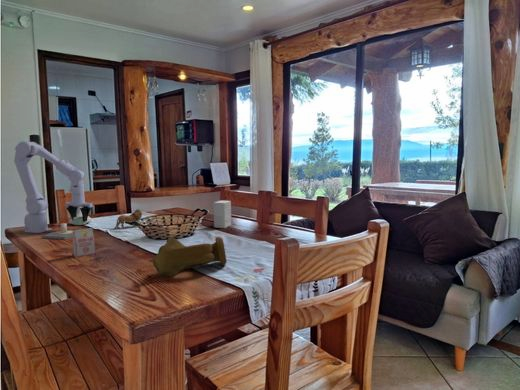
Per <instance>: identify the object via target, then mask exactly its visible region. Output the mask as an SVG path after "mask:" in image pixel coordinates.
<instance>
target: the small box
mask: <svg viewBox="0 0 520 390" xmlns="http://www.w3.org/2000/svg"><path fill="white" fill-rule="evenodd" d="M213 224H214V225H213V228H220V229H226V228H228V227H230V226H232V201H231V200H217V201H214V202H213Z"/></svg>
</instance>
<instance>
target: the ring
mask: <svg viewBox="0 0 520 390" xmlns="http://www.w3.org/2000/svg"><path fill="white" fill-rule="evenodd" d="M73 222H74V224H73V225H74V226H80V225H81V226H82V225H86V224H87V223H86V221H85V222H83V218H82V217H74V218H73Z"/></svg>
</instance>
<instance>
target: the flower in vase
mask: <svg viewBox="0 0 520 390" xmlns="http://www.w3.org/2000/svg"><path fill="white" fill-rule="evenodd" d="M68 192H69V193H72V192H71V185H70V186H69V189H68ZM77 206H81V205H77ZM80 208H83V207H78V208H77V217H82V212H81V210H80ZM92 220H93V219H92V218H91V217H90V216H89V215H88V218H87V221H86V224H89V223H90V222H92ZM68 223H69V224H70V225H74V222H73V221H72V218H71V217H70V219H69V220H68Z"/></svg>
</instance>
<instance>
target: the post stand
mask: <svg viewBox="0 0 520 390" xmlns="http://www.w3.org/2000/svg"><path fill="white" fill-rule="evenodd" d="M73 230H74V229H68V224H67V223H66V222H65V223H60V230H57V231H53V232H50V233H46V234H43V235H42V239H51V240H52V239H54V240H67V239H71V238H73Z"/></svg>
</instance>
